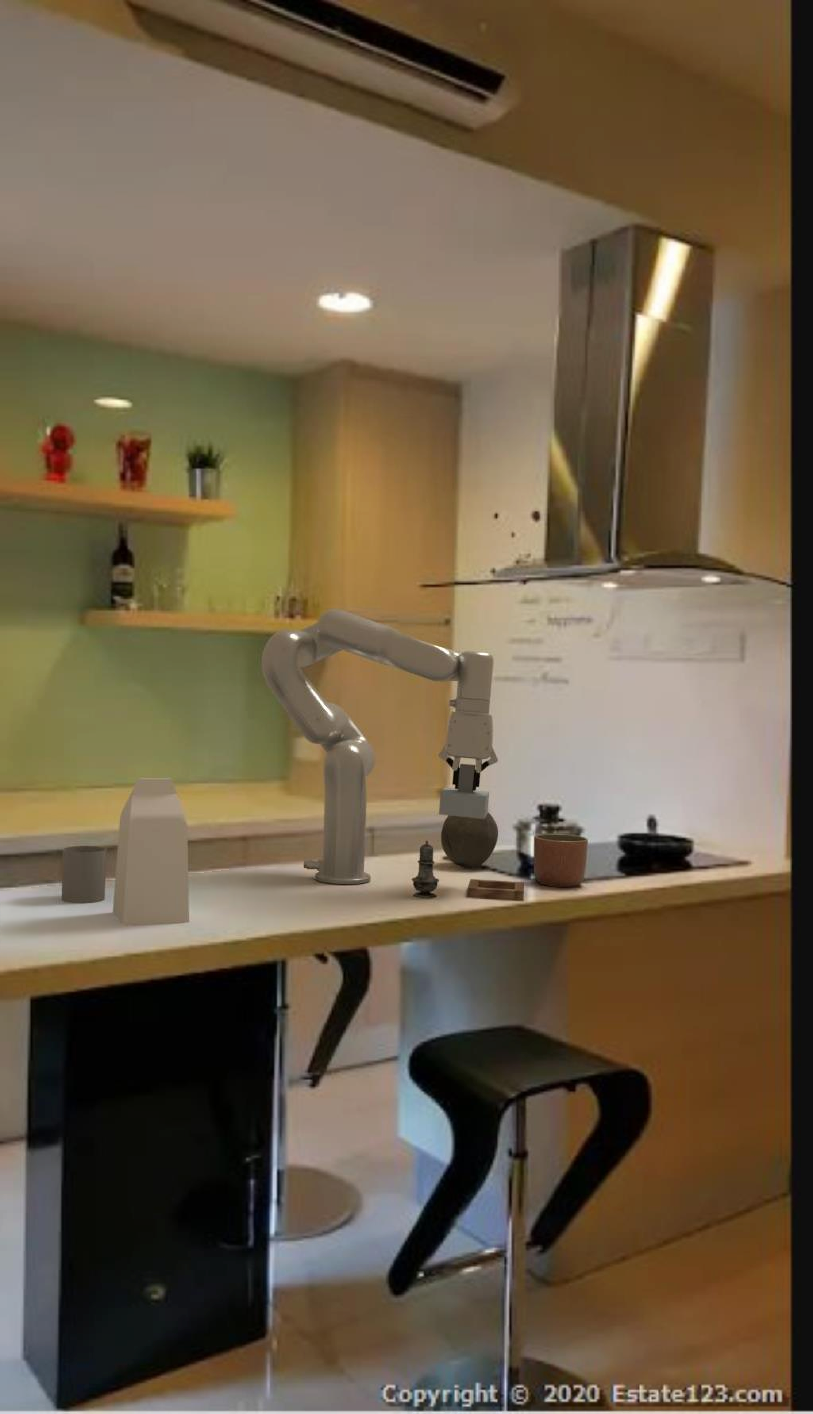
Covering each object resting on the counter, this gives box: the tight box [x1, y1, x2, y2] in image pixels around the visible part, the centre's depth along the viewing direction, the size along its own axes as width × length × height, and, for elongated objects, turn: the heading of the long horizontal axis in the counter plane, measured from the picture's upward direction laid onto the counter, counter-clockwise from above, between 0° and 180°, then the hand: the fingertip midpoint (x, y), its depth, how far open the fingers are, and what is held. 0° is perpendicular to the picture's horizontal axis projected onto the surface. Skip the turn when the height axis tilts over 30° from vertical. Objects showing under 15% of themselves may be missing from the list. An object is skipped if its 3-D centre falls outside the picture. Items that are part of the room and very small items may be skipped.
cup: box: [61, 845, 107, 905], centre depth 223 cm, size 8×8×10 cm
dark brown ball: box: [440, 812, 499, 869], centre depth 279 cm, size 14×14×15 cm
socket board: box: [466, 878, 525, 902], centre depth 245 cm, size 12×11×2 cm
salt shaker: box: [411, 840, 440, 900], centre depth 240 cm, size 6×6×12 cm
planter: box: [533, 833, 589, 888], centre depth 260 cm, size 12×12×11 cm
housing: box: [438, 763, 490, 819], centre depth 250 cm, size 10×10×11 cm
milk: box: [112, 777, 190, 927], centre depth 209 cm, size 12×12×26 cm
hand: (465, 788), depth 250 cm, fingers closed on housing, 3 cm apart
